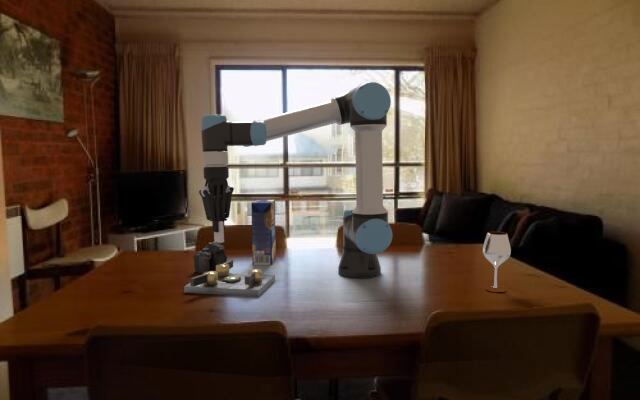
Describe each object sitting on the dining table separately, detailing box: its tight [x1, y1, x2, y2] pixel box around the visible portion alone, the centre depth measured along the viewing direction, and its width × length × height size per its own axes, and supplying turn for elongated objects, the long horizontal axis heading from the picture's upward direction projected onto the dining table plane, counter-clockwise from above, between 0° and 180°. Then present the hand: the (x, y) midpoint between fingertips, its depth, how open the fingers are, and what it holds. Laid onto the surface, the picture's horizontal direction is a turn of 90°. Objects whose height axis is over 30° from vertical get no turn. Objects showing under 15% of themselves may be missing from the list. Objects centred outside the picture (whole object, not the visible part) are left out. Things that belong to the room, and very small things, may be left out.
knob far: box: [215, 259, 234, 277], centre depth 164 cm, size 10×4×3 cm, turn 170°
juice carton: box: [250, 199, 277, 266], centre depth 190 cm, size 12×8×24 cm, turn 178°
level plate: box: [183, 272, 276, 298], centre depth 155 cm, size 24×18×3 cm
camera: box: [193, 241, 228, 274], centre depth 178 cm, size 13×10×10 cm
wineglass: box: [482, 231, 512, 288], centre depth 150 cm, size 8×8×18 cm
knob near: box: [189, 270, 218, 287], centre depth 149 cm, size 10×4×3 cm, turn 150°
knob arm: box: [245, 268, 263, 285], centre depth 151 cm, size 10×4×3 cm, turn 170°
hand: (219, 241), depth 149 cm, fingers closed
